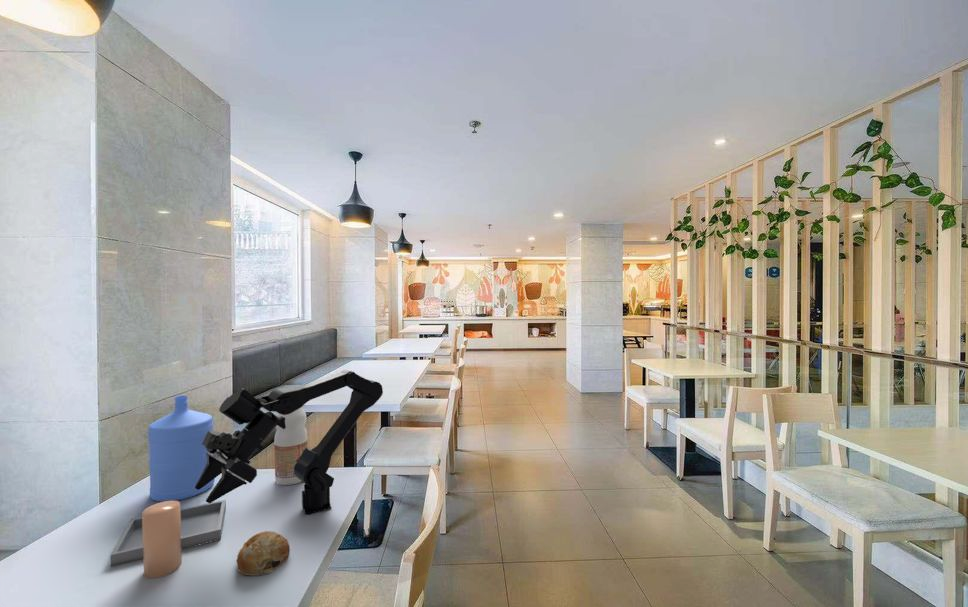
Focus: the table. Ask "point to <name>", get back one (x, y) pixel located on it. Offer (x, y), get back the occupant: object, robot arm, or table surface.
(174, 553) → the peach rounded cylinder
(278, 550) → the bread roll
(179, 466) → the water jug
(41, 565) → the table surface
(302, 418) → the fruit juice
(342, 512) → the table surface
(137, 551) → the grey tray
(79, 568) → the table surface
